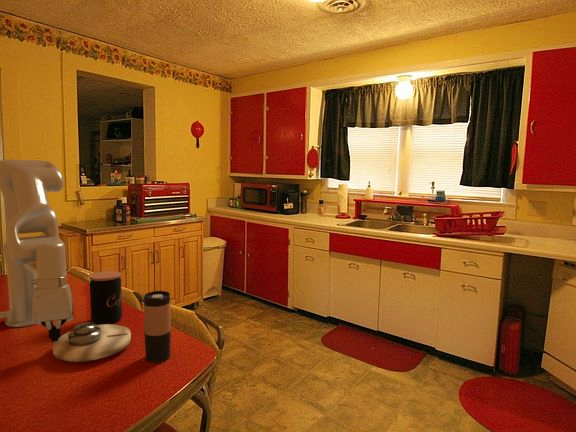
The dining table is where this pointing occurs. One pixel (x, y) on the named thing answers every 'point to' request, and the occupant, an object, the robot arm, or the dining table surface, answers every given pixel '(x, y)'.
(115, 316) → the coffee jar
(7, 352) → the dining table surface
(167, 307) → the travel mug
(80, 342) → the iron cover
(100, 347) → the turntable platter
